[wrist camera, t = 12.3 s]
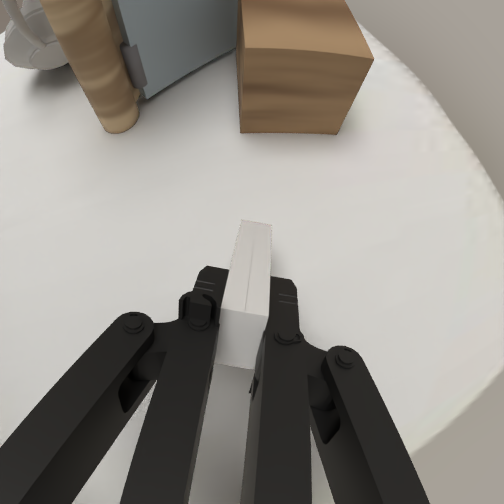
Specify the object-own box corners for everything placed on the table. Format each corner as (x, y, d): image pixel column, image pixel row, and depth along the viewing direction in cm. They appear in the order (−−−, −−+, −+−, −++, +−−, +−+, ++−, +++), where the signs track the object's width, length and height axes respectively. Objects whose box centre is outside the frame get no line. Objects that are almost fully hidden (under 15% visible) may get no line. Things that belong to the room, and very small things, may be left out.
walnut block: (336, 135, 22) (374, 59, 14) (240, 133, 21) (245, 47, 13) (315, 56, 24) (336, -14, 16) (236, 53, 23) (239, -22, 16)
